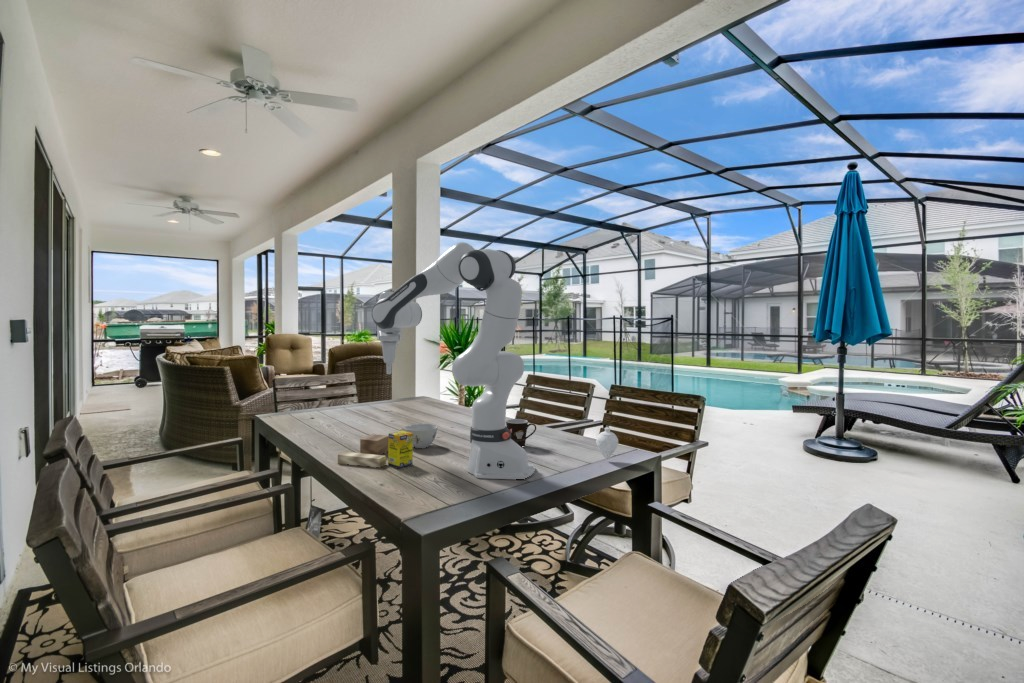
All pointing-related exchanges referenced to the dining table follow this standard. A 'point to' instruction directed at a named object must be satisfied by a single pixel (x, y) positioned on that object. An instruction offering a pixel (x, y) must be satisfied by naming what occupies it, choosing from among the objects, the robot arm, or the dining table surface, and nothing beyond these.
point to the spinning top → (607, 442)
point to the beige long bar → (361, 459)
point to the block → (374, 444)
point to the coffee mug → (519, 430)
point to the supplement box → (400, 449)
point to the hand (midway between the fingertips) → (389, 372)
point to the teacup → (422, 434)
